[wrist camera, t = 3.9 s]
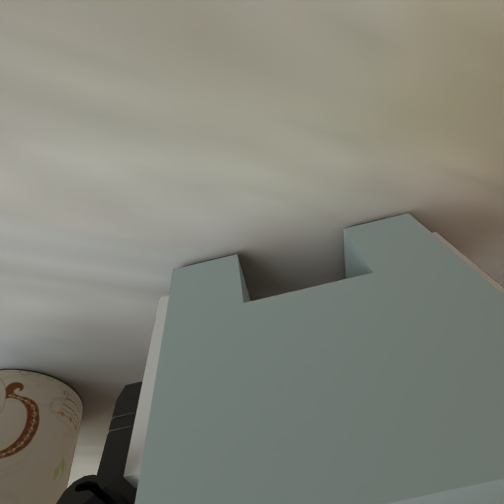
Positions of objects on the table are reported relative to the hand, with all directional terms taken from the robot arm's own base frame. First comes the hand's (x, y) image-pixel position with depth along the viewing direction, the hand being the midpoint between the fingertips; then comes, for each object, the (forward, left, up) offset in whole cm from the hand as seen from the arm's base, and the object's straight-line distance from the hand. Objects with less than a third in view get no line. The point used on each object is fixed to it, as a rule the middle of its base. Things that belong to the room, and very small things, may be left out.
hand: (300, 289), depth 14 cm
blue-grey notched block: (0, 0, -1) cm, 1 cm away
